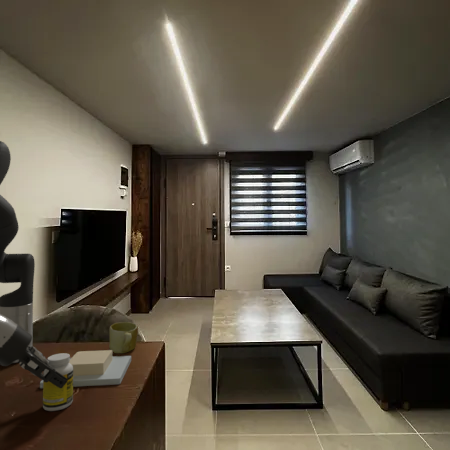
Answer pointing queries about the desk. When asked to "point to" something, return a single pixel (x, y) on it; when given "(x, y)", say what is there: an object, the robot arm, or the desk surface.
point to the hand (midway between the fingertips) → (59, 377)
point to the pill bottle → (54, 395)
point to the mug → (123, 337)
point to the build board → (108, 375)
